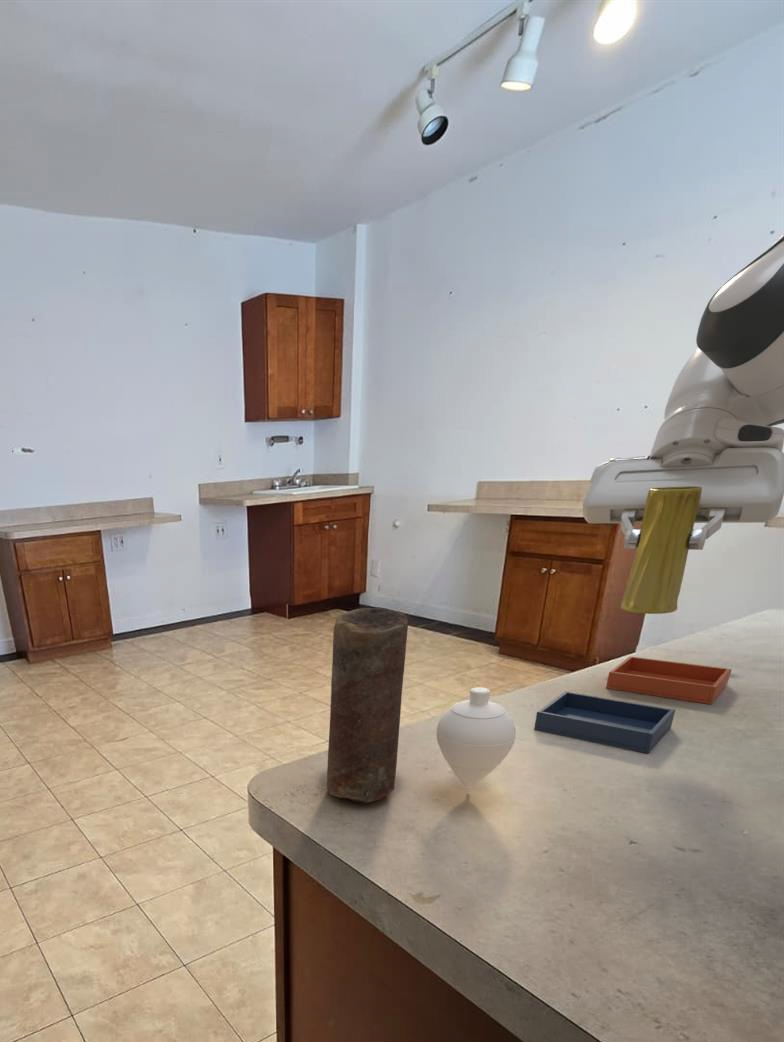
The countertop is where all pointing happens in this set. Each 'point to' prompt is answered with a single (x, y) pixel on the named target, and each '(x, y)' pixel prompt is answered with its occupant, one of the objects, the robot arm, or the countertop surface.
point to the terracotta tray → (669, 679)
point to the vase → (662, 550)
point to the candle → (366, 703)
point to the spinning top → (475, 737)
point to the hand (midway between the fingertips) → (662, 546)
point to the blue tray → (605, 721)
